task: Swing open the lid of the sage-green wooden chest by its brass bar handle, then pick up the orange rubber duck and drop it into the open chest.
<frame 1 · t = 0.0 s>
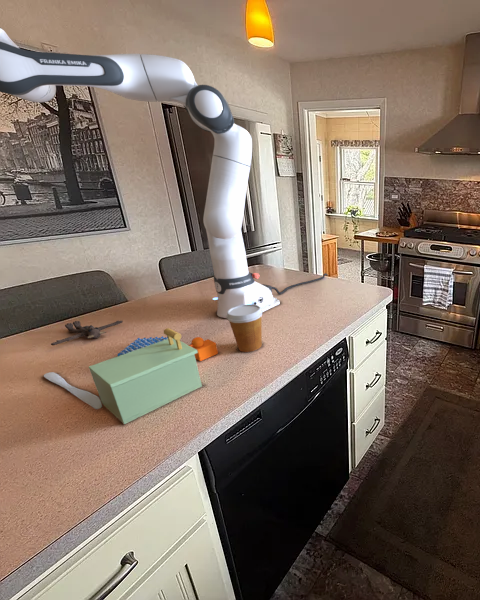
lid: (143, 351, 71), point 11 cm above the worktop, hinge at 0.0°
butter knife: (74, 390, 76), on the worktop
woven mat: (147, 351, 94), on the worktop
rubber duck: (205, 355, 92), on the worktop
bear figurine: (86, 335, 102), on the worktop
chest: (154, 394, 75), on the worktop
disposable coffee cup: (250, 347, 97), on the worktop
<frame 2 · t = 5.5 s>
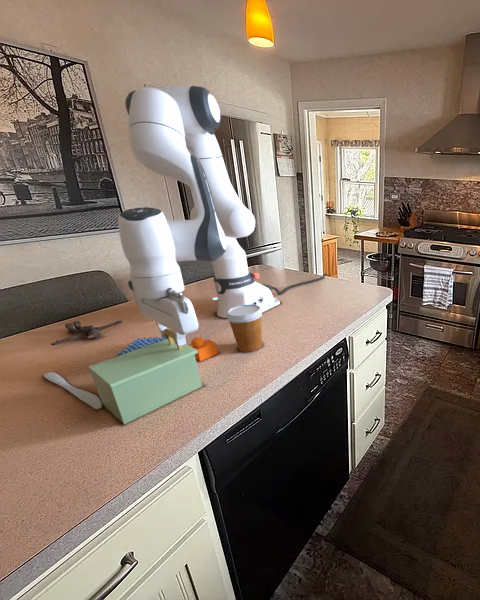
hand: (174, 340, 76), 11 cm above the worktop, tool pointing down, fingers closed on lid, 5 cm apart
lid: (143, 351, 71), point 11 cm above the worktop, hinge at 0.0°, touching gripper
everything else where it was.
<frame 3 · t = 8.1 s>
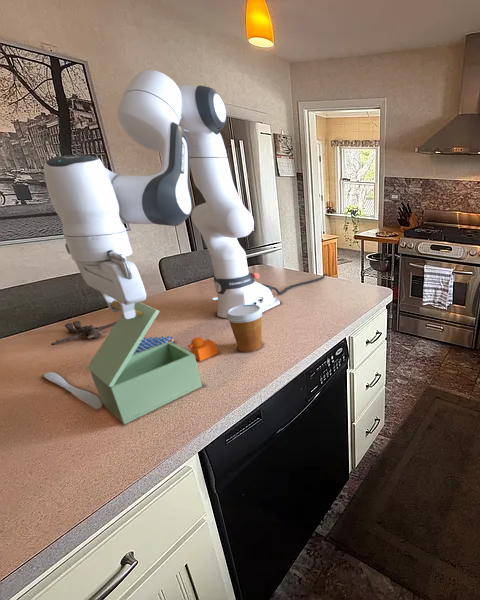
hand: (123, 313, 67), 21 cm above the worktop, tool pointing down, fingers closed on lid, 5 cm apart
lid: (111, 336, 66), point 17 cm above the worktop, hinge at 48.5°, touching gripper
everything else where it was.
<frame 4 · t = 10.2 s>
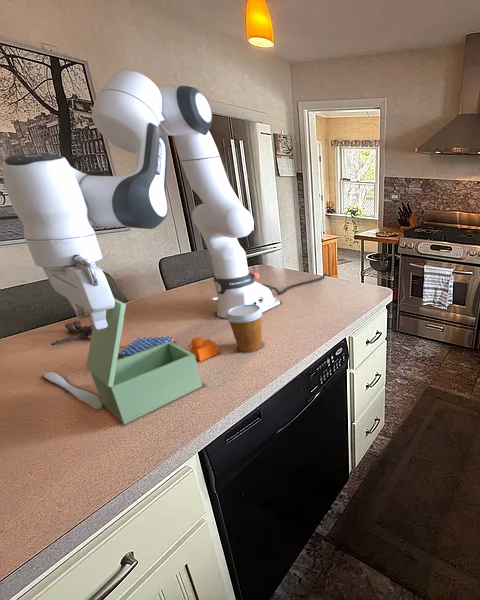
hand: (92, 322, 63), 21 cm above the worktop, tool pointing down, fingers open, 7 cm apart
lid: (91, 338, 63), point 18 cm above the worktop, hinge at 69.5°
everything else where it was.
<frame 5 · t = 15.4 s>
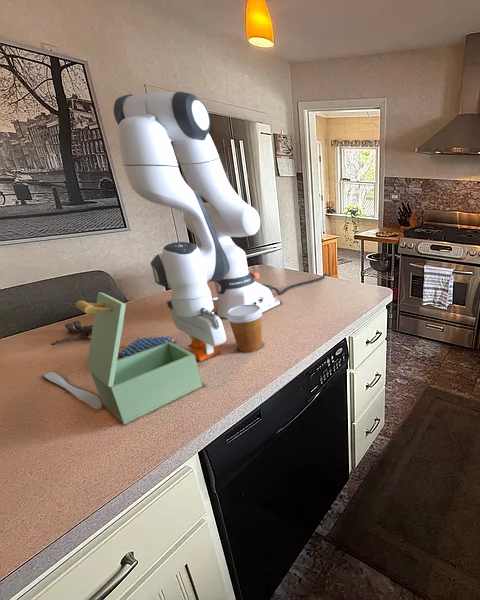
hand: (204, 350, 91), 2 cm above the worktop, tool pointing down, fingers closed on rubber duck, 4 cm apart
rubber duck: (205, 355, 92), on the worktop, touching gripper
everything else where it was.
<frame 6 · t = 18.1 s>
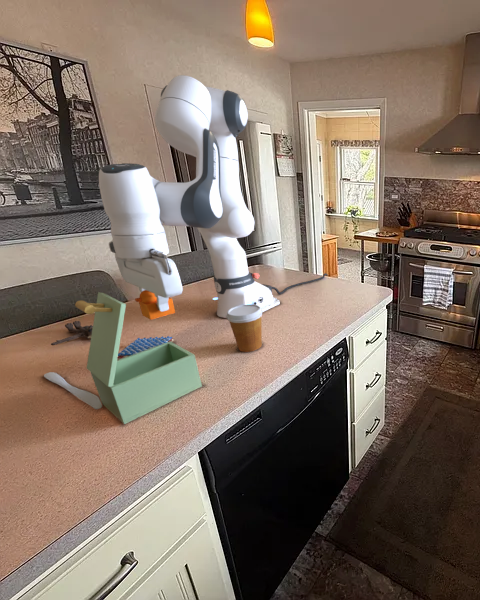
hand: (157, 307, 73), 20 cm above the worktop, tool pointing down, fingers closed on rubber duck, 4 cm apart
rubber duck: (159, 314, 74), point 18 cm above the worktop, touching gripper
everything else where it was.
when the fingers open (10 cm above the worktop, at t = 21.1 s): rubber duck drops 8 cm, resting on chest.
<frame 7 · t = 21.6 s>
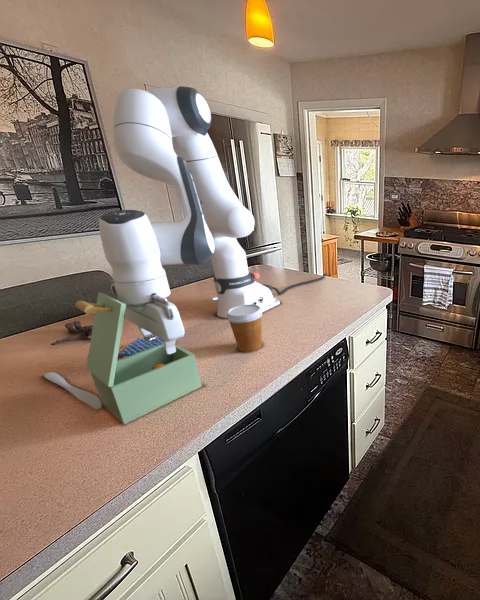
hand: (160, 346, 74), 11 cm above the worktop, tool pointing down, fingers open, 8 cm apart
rubber duck: (170, 384, 78), point 1 cm above the worktop, touching chest
everything else where it was.
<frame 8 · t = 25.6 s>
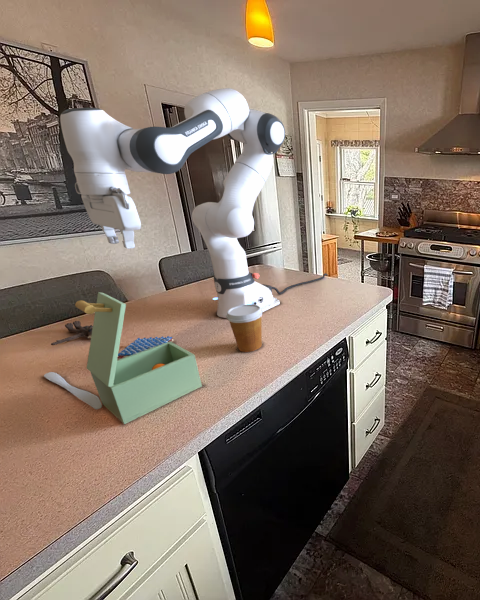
hand: (121, 245, 80), 31 cm above the worktop, tool pointing down, fingers open, 8 cm apart
nothing on the worktop moved.
at the end: lid at +70° (first picture: +0°); rubber duck inside the target area in the chest (3.5 cm from its centre), point 0.8 cm above the chest's base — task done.
